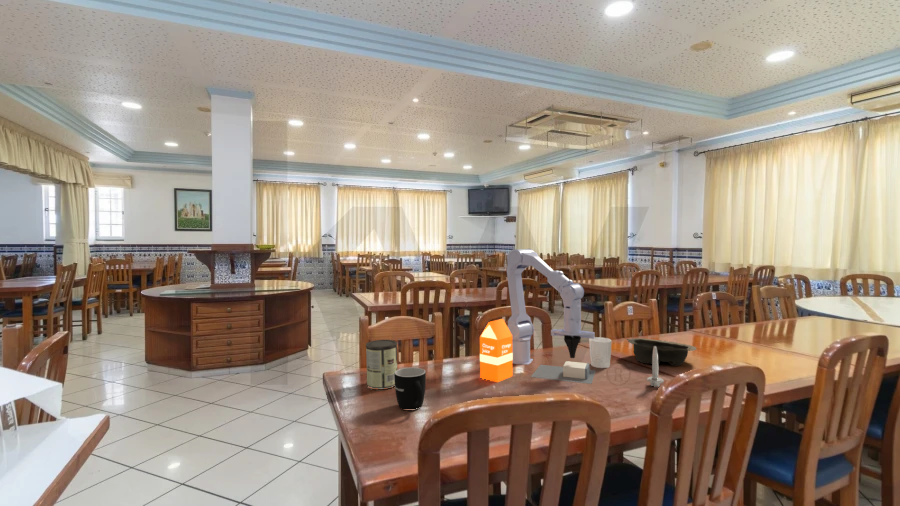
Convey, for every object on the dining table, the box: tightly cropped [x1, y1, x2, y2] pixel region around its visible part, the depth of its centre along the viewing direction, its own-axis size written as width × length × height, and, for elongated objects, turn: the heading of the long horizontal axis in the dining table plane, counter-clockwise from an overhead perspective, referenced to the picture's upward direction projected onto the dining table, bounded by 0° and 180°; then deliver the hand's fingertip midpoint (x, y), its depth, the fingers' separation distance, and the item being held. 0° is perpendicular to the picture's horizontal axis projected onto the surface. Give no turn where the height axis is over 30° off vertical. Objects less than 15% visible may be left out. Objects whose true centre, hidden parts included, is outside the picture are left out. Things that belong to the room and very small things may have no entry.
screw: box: [646, 346, 665, 388], centre depth 139 cm, size 13×5×5 cm
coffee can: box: [365, 339, 398, 389], centre depth 144 cm, size 10×10×14 cm
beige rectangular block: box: [562, 360, 591, 379], centre depth 151 cm, size 4×7×8 cm
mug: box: [394, 366, 427, 410], centre depth 123 cm, size 12×9×10 cm
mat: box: [530, 364, 597, 385], centre depth 153 cm, size 20×16×1 cm
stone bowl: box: [626, 337, 698, 367], centre depth 168 cm, size 25×25×9 cm
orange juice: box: [479, 318, 514, 383], centre depth 150 cm, size 8×9×20 cm
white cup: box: [588, 336, 612, 369], centre depth 162 cm, size 8×8×10 cm
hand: (572, 357), depth 151 cm, fingers closed
